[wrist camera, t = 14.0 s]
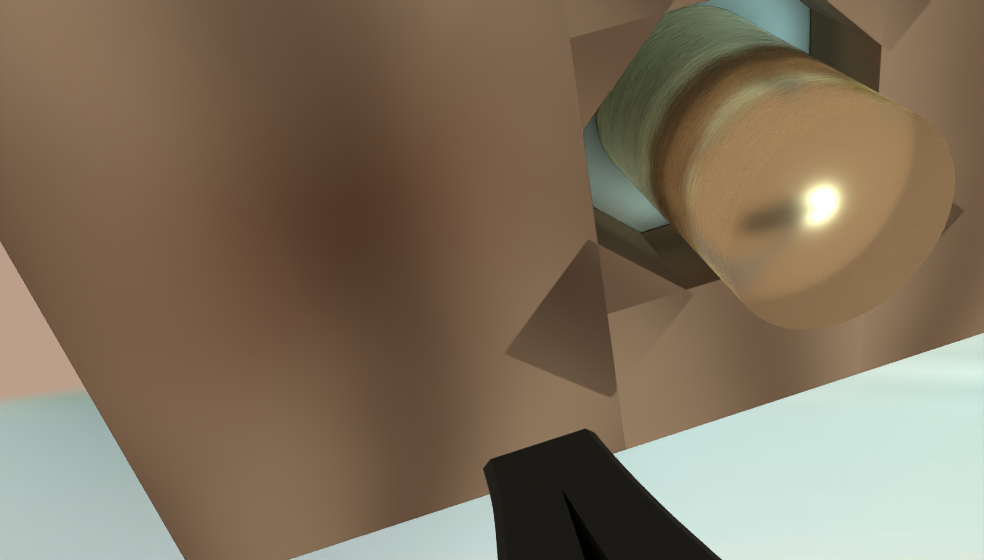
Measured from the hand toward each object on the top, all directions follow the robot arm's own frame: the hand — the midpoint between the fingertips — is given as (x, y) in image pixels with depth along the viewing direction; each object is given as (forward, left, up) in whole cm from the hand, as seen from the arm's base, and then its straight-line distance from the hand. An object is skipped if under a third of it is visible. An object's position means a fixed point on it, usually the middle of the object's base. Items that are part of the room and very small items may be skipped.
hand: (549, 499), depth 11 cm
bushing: (+6, 0, -9) cm, 11 cm away
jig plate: (+3, 0, -9) cm, 10 cm away
